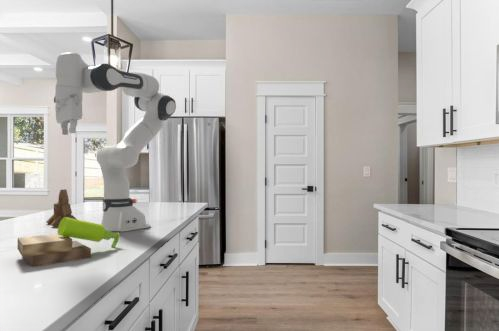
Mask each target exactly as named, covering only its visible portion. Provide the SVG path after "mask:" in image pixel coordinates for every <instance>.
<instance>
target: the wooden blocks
mask: <svg viewBox="0 0 499 331" xmlns="http://www.w3.org/2000/svg"><path fill="white" fill-rule="evenodd" d="M57 200H58V201H57V202H56V203H53V214H52V215H51V216H50V217H49V218H48V219H47V220H46V221H45V222H46V223H47V224H48V225H49V224H51V225H50V226H52V227H53V228H55V227H56V228H58V226H59V223H60V221H61V220H62V219H63V218H64V217H68V218H72V219H77V218H76V217H75V216H74V215H73V212H72V208H71V204H70V203H69V202H70V201H69V193H68V191H67V189H60V190H59V195H58V198H57Z"/></svg>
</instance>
